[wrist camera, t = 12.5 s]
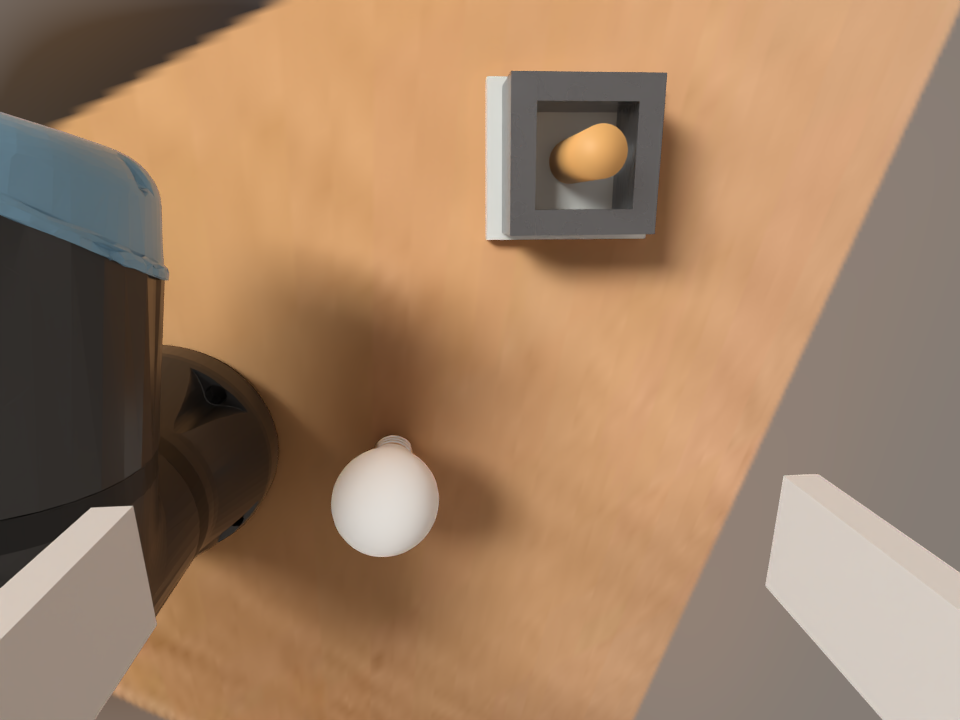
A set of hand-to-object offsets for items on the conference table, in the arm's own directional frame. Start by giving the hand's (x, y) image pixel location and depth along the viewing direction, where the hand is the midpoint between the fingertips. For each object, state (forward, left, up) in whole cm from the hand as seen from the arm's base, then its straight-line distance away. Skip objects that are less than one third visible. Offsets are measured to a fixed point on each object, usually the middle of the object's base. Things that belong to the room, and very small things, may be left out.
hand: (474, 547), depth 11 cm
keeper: (+8, +10, -29) cm, 31 cm away
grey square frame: (+8, +10, -28) cm, 30 cm away
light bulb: (-4, -11, -29) cm, 31 cm away
